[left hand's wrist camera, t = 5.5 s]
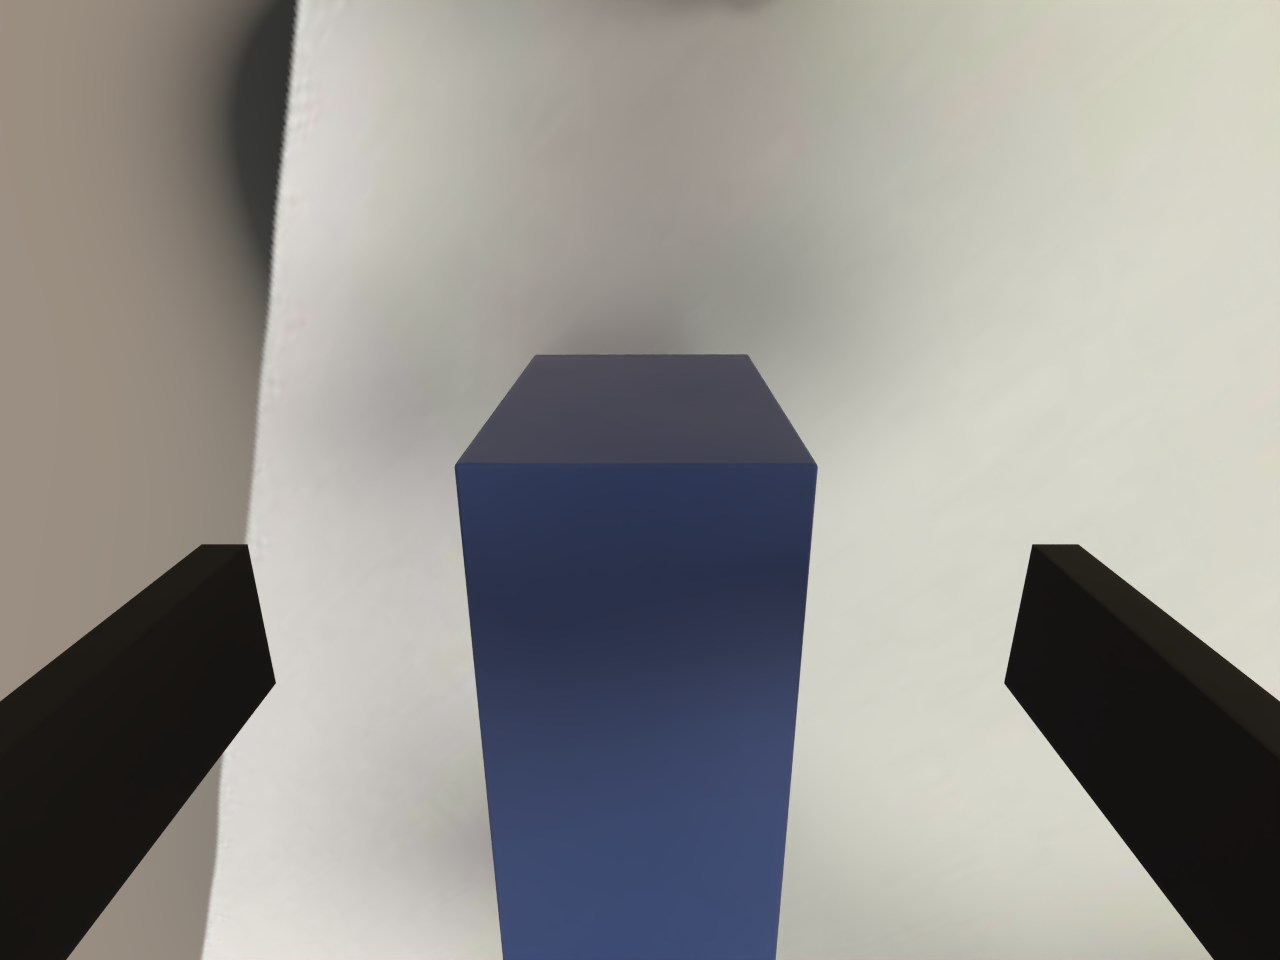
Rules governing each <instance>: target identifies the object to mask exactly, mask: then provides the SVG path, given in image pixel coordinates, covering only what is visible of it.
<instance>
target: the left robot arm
mask: <svg viewBox="0 0 1280 960" xmlns="http://www.w3.org/2000/svg"><path fill="white" fill-rule="evenodd" d="M275 684H276V682H275V677H274V672H273V667H272V662H271V657H270V652H269V647H268V642H267V637H266V633H265V628H264V623H263V618H262V613H261V608H260V603H259V598H258V593H257V588H256V584H255V579H254V574H253V569H252V564H251V559H250V554H249V549H248V544H202V545H200V546H199V547H198V548H197V549H195V550H194V551H193V552H191V553H190V554H189V555H188V556H186V557H185V558H184V559H182V560H181V561H180V562H179V563H177V564H176V565H175V566H173V567H172V568H171V569H170V570H168V571H167V572H166V573H164V574H163V575H162V576H161V577H159V578H158V579H157V580H155V581H154V582H153V583H152V584H150V585H149V586H148V587H147V588H145V589H144V590H143V591H141V592H140V593H139V594H138V595H136V596H135V597H134V598H132V599H131V600H130V601H129V602H127V603H126V604H125V605H123V606H122V607H121V608H120V609H118V610H117V611H116V612H114V613H113V614H112V615H111V616H109V617H108V618H107V619H105V620H104V621H103V622H102V623H100V624H99V625H98V626H97V627H95V628H94V629H93V630H91V631H90V632H89V633H88V634H86V635H85V636H84V637H82V638H81V639H80V640H79V641H77V642H76V643H75V644H73V645H72V646H71V647H70V648H68V649H67V650H66V651H64V652H63V653H62V654H61V655H59V656H58V657H57V658H55V659H54V660H53V661H52V662H50V663H49V664H48V665H46V666H45V667H44V668H43V669H41V670H40V671H39V672H37V673H36V674H35V675H34V676H32V677H31V678H30V679H28V680H27V681H26V682H25V683H23V684H22V685H21V686H19V687H18V688H17V689H16V690H14V691H13V692H12V693H10V694H9V695H8V696H7V697H5V698H4V699H3V700H2V701H0V960H66V959H67V958H68V957H69V955H70V954H71V953H72V951H73V950H74V949H75V947H76V946H77V945H78V943H79V942H80V941H81V939H82V938H83V937H84V935H85V934H86V933H87V932H88V930H89V929H90V928H91V926H92V925H93V924H94V922H95V921H96V920H97V918H98V917H99V916H100V914H101V913H102V912H103V910H104V909H105V908H106V906H107V905H108V904H109V903H110V901H111V900H112V899H113V897H114V896H115V895H116V893H117V892H118V891H119V889H120V888H121V887H122V885H123V884H124V883H125V881H126V880H127V879H128V877H129V876H130V875H131V873H132V872H133V871H134V870H135V868H136V867H137V866H138V864H139V863H140V862H141V860H142V859H143V858H144V856H145V855H146V854H147V852H148V851H149V850H150V848H151V847H152V846H153V844H154V843H155V842H156V841H157V839H158V838H159V837H160V835H161V834H162V832H163V831H164V830H165V829H166V827H167V826H168V825H169V823H170V822H171V821H172V819H173V818H174V817H175V815H176V814H177V813H178V812H179V810H180V809H181V808H182V806H183V805H184V804H185V802H186V801H187V800H188V798H189V797H190V796H191V794H192V793H193V792H194V790H195V789H196V788H197V786H198V785H199V784H200V782H201V781H202V780H203V778H204V777H205V776H206V775H207V773H208V772H209V771H210V769H211V768H212V767H213V765H214V764H215V763H216V761H217V760H218V759H219V757H220V756H221V755H222V753H223V752H224V751H225V750H226V748H227V747H228V746H229V744H230V743H231V742H232V740H233V739H234V738H235V736H236V735H237V734H238V732H239V731H240V730H241V728H242V727H243V726H244V724H245V723H246V722H247V721H248V719H249V718H250V717H251V715H252V714H253V713H254V711H255V710H256V709H257V707H258V706H259V705H260V703H261V702H262V701H263V699H264V698H265V697H266V695H267V694H268V693H269V691H270V690H271V689H272V688H273V686H274V685H275ZM1004 684H1005V685H1006V686H1007V688H1008V689H1009V690H1010V691H1011V693H1012V694H1013V695H1014V697H1015V698H1016V699H1017V701H1018V702H1019V703H1020V705H1021V706H1022V707H1023V709H1024V710H1025V711H1026V713H1027V714H1028V715H1029V717H1030V718H1031V719H1032V721H1033V722H1034V723H1035V724H1036V726H1037V727H1038V728H1039V730H1040V731H1041V732H1042V734H1043V735H1044V736H1045V738H1046V739H1047V740H1048V742H1049V743H1050V744H1051V746H1052V747H1053V748H1054V750H1055V751H1056V752H1057V753H1058V755H1059V756H1060V757H1061V759H1062V760H1063V761H1064V763H1065V764H1066V765H1067V767H1068V768H1069V769H1070V771H1071V772H1072V773H1073V775H1074V776H1075V777H1076V779H1077V780H1078V781H1079V782H1080V784H1081V785H1082V786H1083V788H1084V789H1085V790H1086V792H1087V793H1088V794H1089V796H1090V797H1091V798H1092V800H1093V801H1094V802H1095V804H1096V805H1097V806H1098V808H1099V809H1100V810H1101V812H1102V813H1103V814H1104V815H1105V817H1106V818H1107V819H1108V821H1109V822H1110V823H1111V825H1112V826H1113V827H1114V829H1115V830H1116V831H1117V833H1118V834H1119V835H1120V837H1121V838H1122V839H1123V841H1124V842H1125V843H1126V844H1127V846H1128V847H1129V848H1130V850H1131V851H1132V852H1133V854H1134V855H1135V856H1136V858H1137V859H1138V860H1139V862H1140V863H1141V864H1142V866H1143V867H1144V868H1145V870H1146V871H1147V872H1148V873H1149V875H1150V876H1151V877H1152V879H1153V880H1154V881H1155V883H1156V884H1157V885H1158V887H1159V888H1160V889H1161V891H1162V892H1163V893H1164V895H1165V896H1166V897H1167V899H1168V900H1169V901H1170V903H1171V904H1172V905H1173V906H1174V908H1175V909H1176V910H1177V912H1178V913H1179V914H1180V916H1181V917H1182V918H1183V920H1184V921H1185V922H1186V924H1187V925H1188V926H1189V928H1190V929H1191V930H1192V932H1193V933H1194V934H1195V935H1196V937H1197V938H1198V939H1199V941H1200V942H1201V943H1202V945H1203V946H1204V947H1205V949H1206V950H1207V951H1208V953H1209V954H1210V955H1211V957H1212V958H1213V959H1214V960H1280V701H1278V700H1277V699H1276V698H1275V697H1273V696H1272V695H1271V694H1269V693H1268V692H1267V691H1266V690H1264V689H1263V688H1262V687H1261V686H1259V685H1258V684H1257V683H1255V682H1254V681H1253V680H1252V679H1250V678H1249V677H1248V676H1246V675H1245V674H1244V673H1243V672H1241V671H1240V670H1239V669H1237V668H1236V667H1235V666H1234V665H1232V664H1231V663H1230V662H1228V661H1227V660H1226V659H1225V658H1223V657H1222V656H1221V655H1219V654H1218V653H1217V652H1216V651H1214V650H1213V649H1212V648H1210V647H1209V646H1208V645H1207V644H1205V643H1204V642H1203V641H1201V640H1200V639H1199V638H1198V637H1196V636H1195V635H1194V634H1193V633H1191V632H1190V631H1189V630H1187V629H1186V628H1185V627H1184V626H1182V625H1181V624H1180V623H1178V622H1177V621H1176V620H1175V619H1173V618H1172V617H1171V616H1169V615H1168V614H1167V613H1166V612H1164V611H1163V610H1162V609H1160V608H1159V607H1158V606H1157V605H1155V604H1154V603H1153V602H1151V601H1150V600H1149V599H1148V598H1146V597H1145V596H1144V595H1142V594H1141V593H1140V592H1139V591H1137V590H1136V589H1135V588H1133V587H1132V586H1131V585H1130V584H1128V583H1127V582H1126V581H1125V580H1123V579H1122V578H1121V577H1119V576H1118V575H1117V574H1116V573H1114V572H1113V571H1112V570H1110V569H1109V568H1108V567H1107V566H1105V565H1104V564H1103V563H1101V562H1100V561H1099V560H1098V559H1096V558H1095V557H1094V556H1092V555H1091V554H1090V553H1089V552H1087V551H1086V550H1085V549H1083V548H1082V547H1081V546H1080V545H1078V544H1032V549H1031V554H1030V559H1029V564H1028V569H1027V574H1026V579H1025V584H1024V588H1023V593H1022V598H1021V603H1020V608H1019V613H1018V618H1017V623H1016V628H1015V633H1014V637H1013V642H1012V647H1011V652H1010V657H1009V662H1008V667H1007V672H1006V677H1005V682H1004Z"/></svg>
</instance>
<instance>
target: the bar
mask: <svg viewBox="0 0 1280 960" xmlns="http://www.w3.org/2000/svg"><path fill="white" fill-rule="evenodd" d="M817 469H818V467H817V464H816V462H815V461H814V459H813V458H812V456H811V455H810V453H809V451H808V450H807V448H806V447H805V445H804V443H803V442H802V440H801V439H800V437H799V435H798V434H797V432H796V431H795V429H794V428H793V426H792V424H791V423H790V421H789V420H788V418H787V416H786V415H785V413H784V412H783V410H782V408H781V407H780V405H779V404H778V402H777V401H776V399H775V397H774V396H773V394H772V393H771V391H770V389H769V388H768V386H767V385H766V383H765V381H764V380H763V378H762V377H761V375H760V373H759V372H758V370H757V369H756V367H755V366H754V364H753V362H752V361H751V359H750V358H749V356H748V355H535V356H534V358H533V359H532V360H531V362H530V363H529V365H528V366H527V367H526V369H525V370H524V371H523V373H522V374H521V375H520V377H519V378H518V380H517V381H516V382H515V384H514V385H513V386H512V388H511V389H510V391H509V392H508V393H507V395H506V396H505V397H504V399H503V400H502V401H501V403H500V404H499V406H498V407H497V408H496V410H495V411H494V412H493V414H492V415H491V417H490V418H489V419H488V421H487V422H486V423H485V425H484V426H483V427H482V429H481V430H480V432H479V433H478V434H477V436H476V437H475V438H474V440H473V441H472V443H471V444H470V445H469V447H468V448H467V449H466V451H465V452H464V453H463V455H462V456H461V458H460V459H459V460H458V462H457V463H456V465H455V475H456V485H457V496H458V506H459V516H460V526H461V536H462V546H463V557H464V567H465V577H466V587H467V597H468V607H469V617H470V628H471V638H472V648H473V658H474V668H475V678H476V688H477V699H478V709H479V719H480V729H481V739H482V749H483V760H484V770H485V780H486V790H487V800H488V810H489V820H490V831H491V841H492V851H493V861H494V871H495V881H496V892H497V902H498V912H499V922H500V932H501V942H502V952H503V960H776V948H777V936H778V925H779V913H780V901H781V890H782V878H783V866H784V855H785V843H786V831H787V819H788V808H789V796H790V784H791V773H792V761H793V749H794V738H795V726H796V714H797V702H798V691H799V679H800V667H801V656H802V644H803V632H804V621H805V609H806V597H807V585H808V574H809V562H810V550H811V539H812V527H813V515H814V504H815V492H816V480H817Z"/></svg>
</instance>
